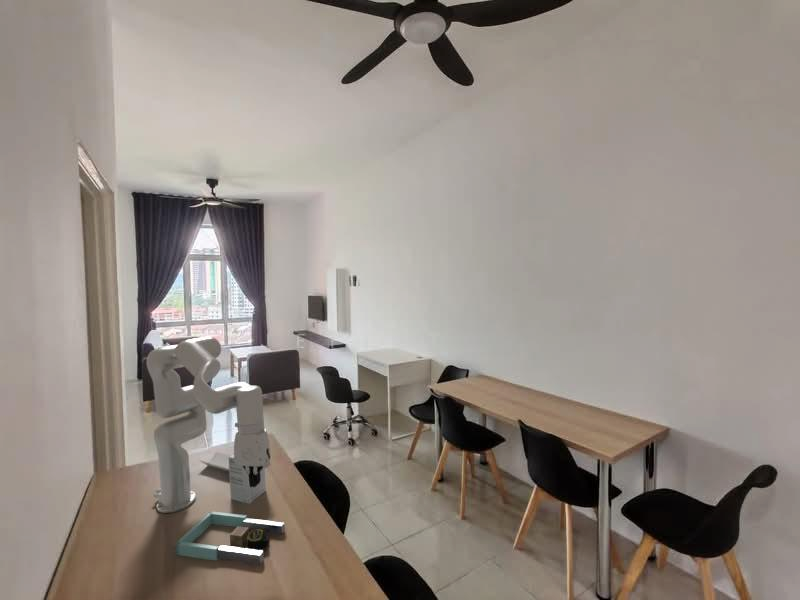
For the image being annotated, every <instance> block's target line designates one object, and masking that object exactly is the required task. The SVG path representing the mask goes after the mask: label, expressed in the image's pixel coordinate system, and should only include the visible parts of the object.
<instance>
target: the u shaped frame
mask: <svg viewBox="0 0 800 600" xmlns="http://www.w3.org/2000/svg"><path fill="white" fill-rule="evenodd" d="M246 518H248V515H247V514H246V515H245V514H237V513H236V514H235V513H229V512H228V513H227V512H220V511H219V512H218V511H211V510H210V511H209V512H208V513H206V515H204V516H203V517H202V518H201V519H200V520H199V521H198V522H197V523H196V524H195V525H194V526H192V528H191V529H189V530H187V532H186V533H184V535H182V537H180V538H179V539H178V540H177V541H176V542H175V543H174V550H175V556H182V557H187V558H188V557H189V558H196V559H204V560H211V561H218V560H219V559H218V555H217V549H218V548H219V547H220V546H217V545H216V546H215V545H211V544H210V545H209V544H203V543H196V542H195V541H196V539H197V538H198V537H200V536H201V535H202V534H203V533H204V531H206V529H208V528H209V527H210V526H211V525H218V526H219V525H220V526H228V527H229V526H230V527H237V526H240V527H243V521H244V520H245V519H246ZM194 542H195V543H194Z"/></svg>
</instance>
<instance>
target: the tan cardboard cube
mask: <svg viewBox="0 0 800 600" xmlns="http://www.w3.org/2000/svg"><path fill="white" fill-rule="evenodd" d="M249 533H250V531H249V528H248V527H240V526H237V527H236V528H235V529H233V531H232V532H231V533H230V534H229V546H231V547H238V548H244V546H246V537H247V535H248V534H249Z"/></svg>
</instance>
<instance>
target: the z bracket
mask: <svg viewBox="0 0 800 600" xmlns="http://www.w3.org/2000/svg"><path fill="white" fill-rule="evenodd" d="M231 455H232V454H231ZM231 455H229V454H226V453H223V452H219V451H215V453H214V454H213V456H212V458H211V459H210V462H208V461H205V460H201V459H199V462H200V463H202V464H204V465H206V466H209V467H211V468H216V469H219V470H223V471H226V472H229V460H228V457H230V456H231Z"/></svg>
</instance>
